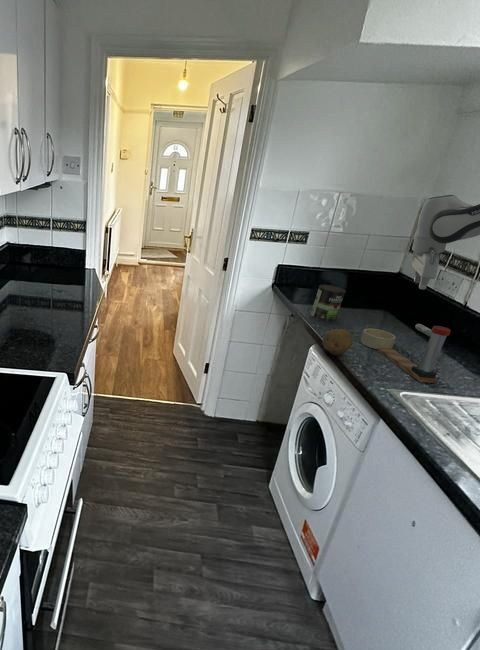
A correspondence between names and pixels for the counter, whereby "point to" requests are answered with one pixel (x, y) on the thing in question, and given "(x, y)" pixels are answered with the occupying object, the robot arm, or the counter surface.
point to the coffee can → (327, 302)
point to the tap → (431, 349)
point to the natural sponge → (337, 341)
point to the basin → (377, 339)
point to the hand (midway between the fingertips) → (419, 285)
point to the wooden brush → (404, 364)
